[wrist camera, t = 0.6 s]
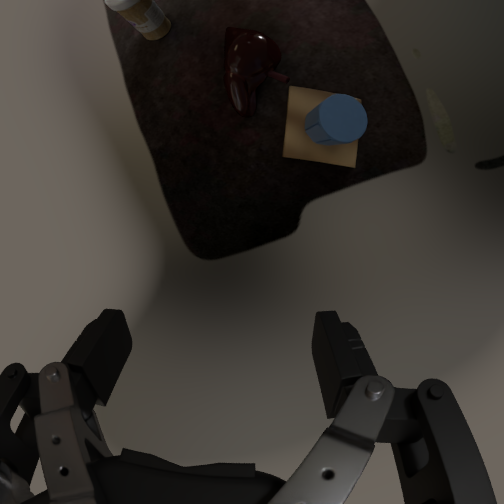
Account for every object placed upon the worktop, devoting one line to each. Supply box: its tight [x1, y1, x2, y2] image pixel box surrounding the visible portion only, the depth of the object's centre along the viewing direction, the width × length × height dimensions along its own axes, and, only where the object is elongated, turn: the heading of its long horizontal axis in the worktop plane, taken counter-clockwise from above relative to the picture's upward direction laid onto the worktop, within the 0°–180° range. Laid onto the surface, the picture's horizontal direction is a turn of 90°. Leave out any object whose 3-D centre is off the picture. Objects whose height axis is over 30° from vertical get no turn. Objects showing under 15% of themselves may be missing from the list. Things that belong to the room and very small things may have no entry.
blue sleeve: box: [304, 94, 367, 146], centre depth 28 cm, size 5×5×9 cm
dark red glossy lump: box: [224, 27, 290, 118], centre depth 29 cm, size 6×12×11 cm
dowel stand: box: [283, 86, 361, 168], centre depth 29 cm, size 10×10×9 cm
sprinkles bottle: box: [105, 0, 171, 40], centre depth 22 cm, size 5×5×14 cm
